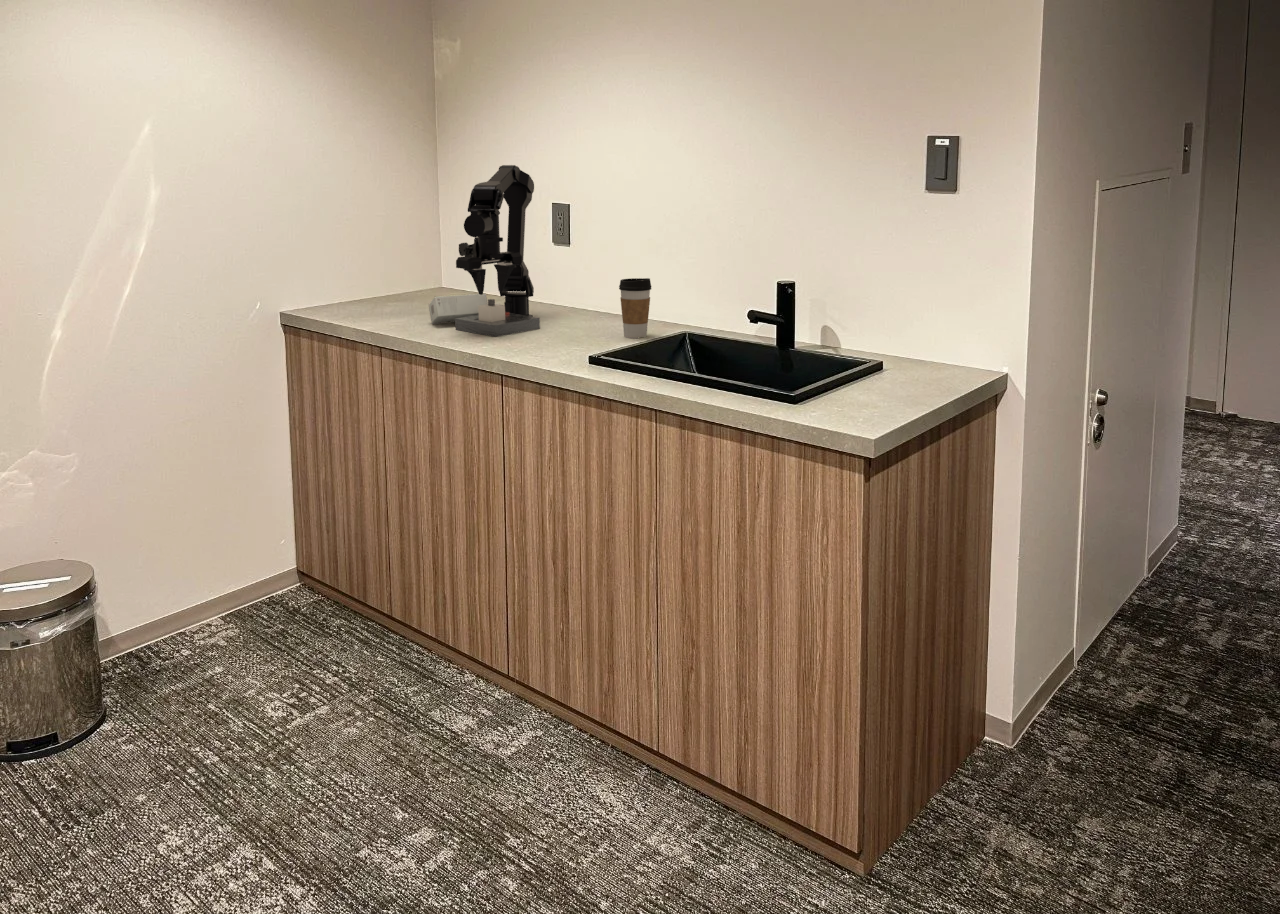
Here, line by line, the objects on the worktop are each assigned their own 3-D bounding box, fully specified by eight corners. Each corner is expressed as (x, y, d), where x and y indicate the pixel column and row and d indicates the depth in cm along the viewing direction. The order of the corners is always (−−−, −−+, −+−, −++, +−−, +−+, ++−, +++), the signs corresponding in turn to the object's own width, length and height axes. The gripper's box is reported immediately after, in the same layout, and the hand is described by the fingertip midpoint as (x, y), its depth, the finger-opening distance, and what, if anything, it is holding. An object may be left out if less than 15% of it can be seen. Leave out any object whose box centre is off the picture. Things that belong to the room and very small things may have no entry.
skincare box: (436, 316, 314) (490, 313, 320) (433, 295, 315) (487, 292, 321) (430, 324, 322) (482, 321, 328) (427, 303, 323) (479, 300, 328)
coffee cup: (640, 340, 298) (640, 281, 293) (613, 337, 302) (612, 279, 298) (657, 335, 304) (657, 277, 300) (630, 332, 309) (630, 275, 304)
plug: (493, 325, 315) (492, 297, 313) (505, 327, 312) (504, 299, 310) (479, 327, 312) (477, 299, 309) (491, 329, 308) (490, 301, 306)
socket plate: (499, 322, 324) (499, 309, 323) (539, 328, 314) (539, 315, 313) (455, 329, 313) (454, 316, 312) (495, 336, 303) (495, 323, 302)
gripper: (494, 229, 317) (496, 286, 321) (441, 234, 303) (443, 294, 308) (522, 231, 310) (524, 290, 314) (469, 237, 296) (471, 298, 300)
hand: (490, 293), depth 309 cm, fingers open, 7 cm apart
